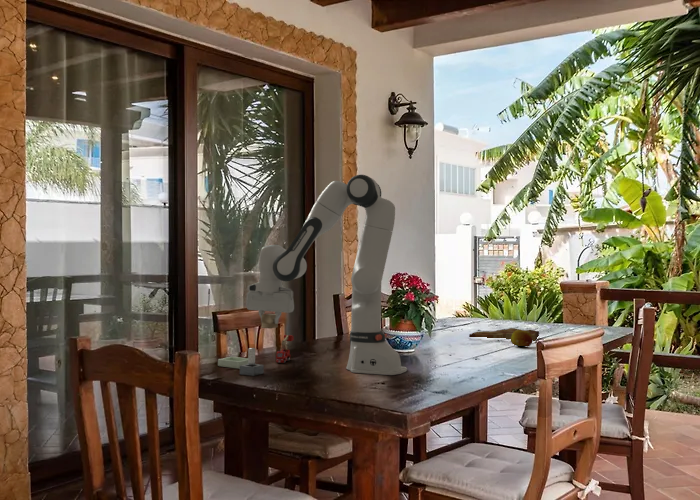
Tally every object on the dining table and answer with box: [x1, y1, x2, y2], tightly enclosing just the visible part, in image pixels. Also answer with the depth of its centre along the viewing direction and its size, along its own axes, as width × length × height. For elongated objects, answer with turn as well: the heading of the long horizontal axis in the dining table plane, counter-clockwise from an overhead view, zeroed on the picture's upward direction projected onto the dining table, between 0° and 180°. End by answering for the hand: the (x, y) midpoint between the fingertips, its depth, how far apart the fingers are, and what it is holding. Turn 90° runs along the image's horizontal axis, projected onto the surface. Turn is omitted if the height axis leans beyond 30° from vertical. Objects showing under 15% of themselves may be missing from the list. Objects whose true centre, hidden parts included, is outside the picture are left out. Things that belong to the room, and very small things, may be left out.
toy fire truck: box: [275, 334, 295, 364], centre depth 278 cm, size 3×14×10 cm, turn 169°
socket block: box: [239, 363, 265, 377], centre depth 248 cm, size 6×6×3 cm
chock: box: [261, 313, 279, 330], centre depth 268 cm, size 4×5×5 cm
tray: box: [217, 356, 248, 370], centre depth 264 cm, size 10×8×2 cm
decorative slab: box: [468, 327, 540, 341], centre depth 352 cm, size 32×22×5 cm
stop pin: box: [247, 347, 256, 366], centre depth 248 cm, size 2×2×9 cm
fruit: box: [510, 329, 533, 347], centre depth 322 cm, size 10×9×8 cm
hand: (269, 323), depth 268 cm, fingers closed on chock, 4 cm apart
